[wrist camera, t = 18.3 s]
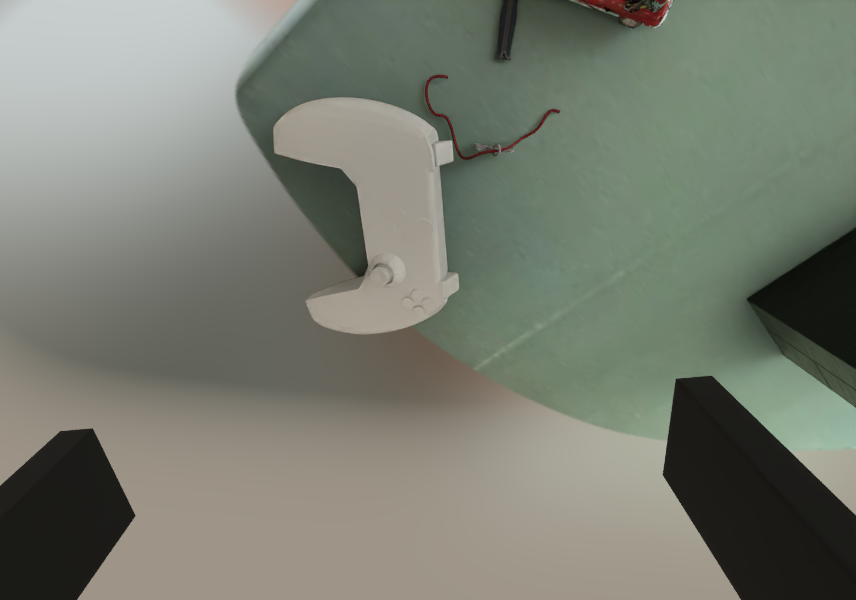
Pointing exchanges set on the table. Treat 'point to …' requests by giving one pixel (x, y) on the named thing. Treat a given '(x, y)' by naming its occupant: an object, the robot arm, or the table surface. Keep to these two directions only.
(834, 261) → the button panel
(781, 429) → the table surface
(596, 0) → the toy car
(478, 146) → the pendant
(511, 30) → the machete
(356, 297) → the game controller
